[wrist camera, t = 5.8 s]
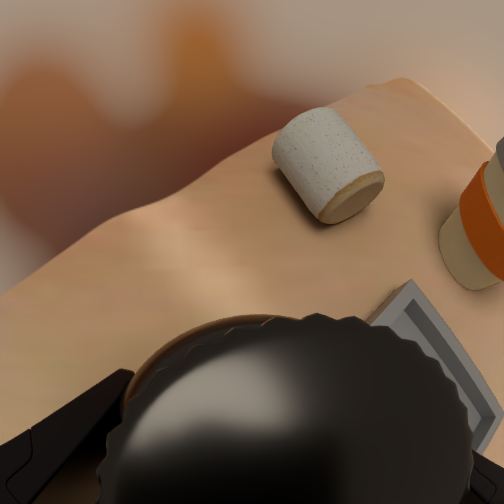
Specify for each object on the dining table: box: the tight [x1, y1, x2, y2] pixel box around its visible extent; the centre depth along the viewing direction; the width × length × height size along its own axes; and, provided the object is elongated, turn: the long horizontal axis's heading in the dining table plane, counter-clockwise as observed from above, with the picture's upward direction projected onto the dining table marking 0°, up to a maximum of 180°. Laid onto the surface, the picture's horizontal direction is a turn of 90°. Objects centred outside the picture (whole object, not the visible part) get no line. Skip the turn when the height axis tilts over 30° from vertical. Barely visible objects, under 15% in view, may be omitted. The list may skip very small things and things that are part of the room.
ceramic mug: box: [272, 107, 385, 224], centre depth 25 cm, size 11×8×8 cm
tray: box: [365, 279, 504, 455], centre depth 18 cm, size 18×18×3 cm
